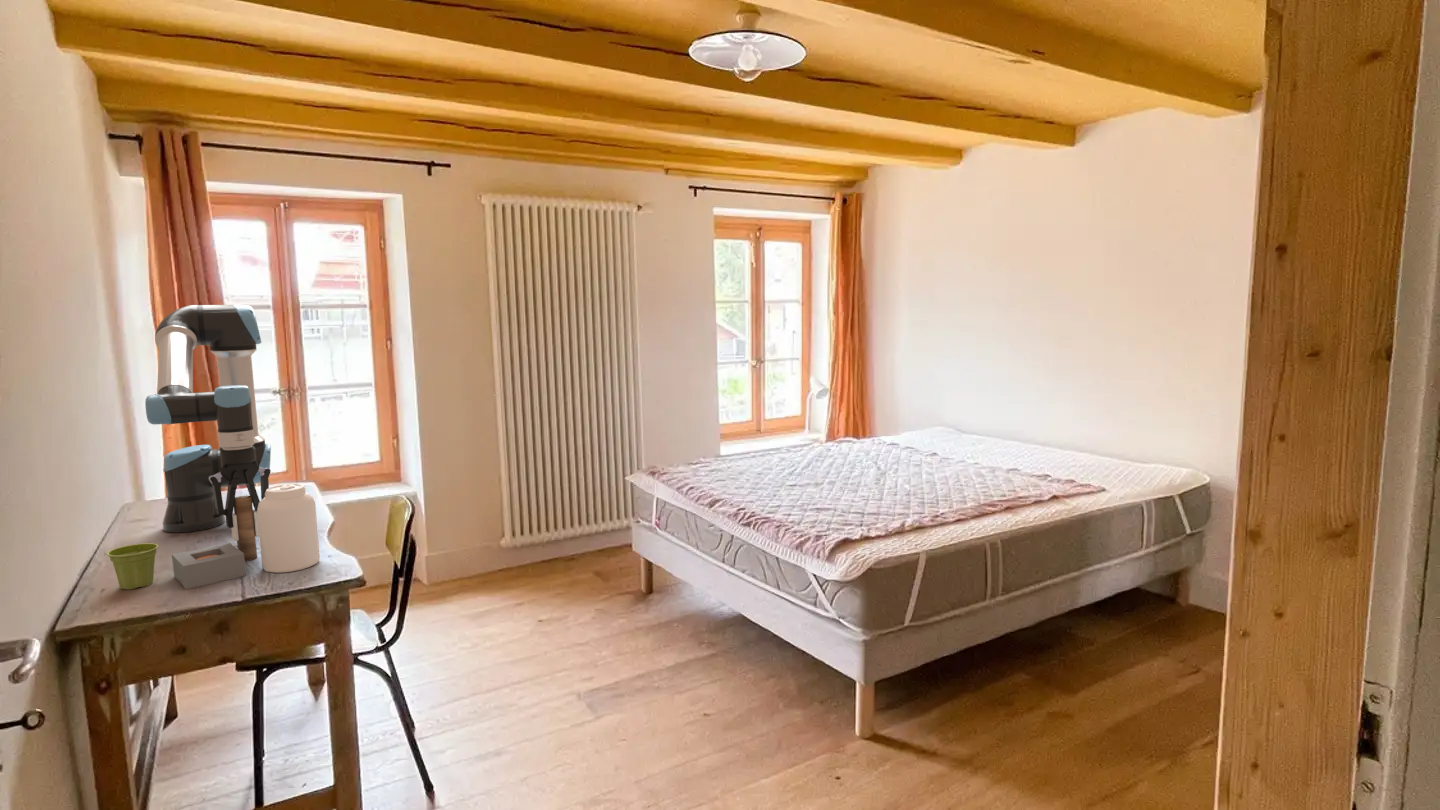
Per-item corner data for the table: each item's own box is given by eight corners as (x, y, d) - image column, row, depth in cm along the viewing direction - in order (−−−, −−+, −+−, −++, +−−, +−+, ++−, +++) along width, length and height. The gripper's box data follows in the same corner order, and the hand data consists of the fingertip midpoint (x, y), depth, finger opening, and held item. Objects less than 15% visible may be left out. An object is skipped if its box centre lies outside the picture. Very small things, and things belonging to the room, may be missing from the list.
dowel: (236, 558, 193) (230, 497, 191) (254, 554, 196) (248, 494, 194) (241, 562, 190) (235, 500, 188) (259, 558, 193) (253, 497, 191)
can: (282, 556, 194) (275, 480, 192) (330, 556, 194) (324, 480, 191) (251, 574, 182) (243, 493, 179) (301, 574, 181) (294, 492, 179)
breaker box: (174, 576, 180) (171, 554, 180) (232, 564, 189) (230, 542, 188) (186, 589, 172) (183, 566, 171) (246, 575, 181) (243, 553, 180)
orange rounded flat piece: (194, 565, 180) (193, 558, 180) (218, 560, 184) (217, 553, 183) (199, 570, 177) (198, 563, 176) (224, 565, 180) (223, 557, 180)
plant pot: (129, 578, 179) (125, 543, 178) (171, 577, 180) (167, 542, 179) (100, 593, 170) (96, 556, 169) (145, 591, 171) (140, 554, 170)
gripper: (201, 454, 181) (210, 548, 184) (279, 444, 193) (287, 532, 196) (193, 450, 186) (203, 542, 189) (270, 440, 198) (278, 527, 201)
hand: (246, 537), depth 192 cm, fingers closed on dowel, 4 cm apart
